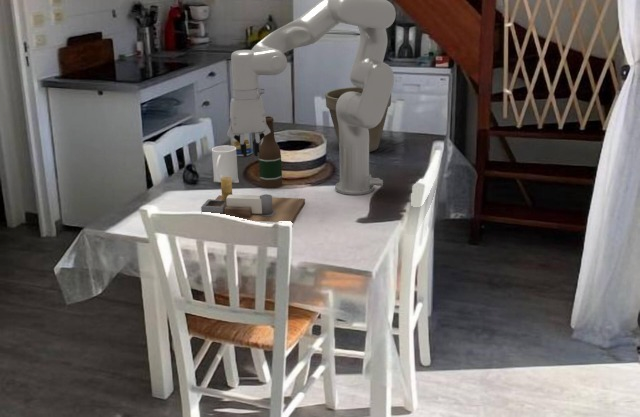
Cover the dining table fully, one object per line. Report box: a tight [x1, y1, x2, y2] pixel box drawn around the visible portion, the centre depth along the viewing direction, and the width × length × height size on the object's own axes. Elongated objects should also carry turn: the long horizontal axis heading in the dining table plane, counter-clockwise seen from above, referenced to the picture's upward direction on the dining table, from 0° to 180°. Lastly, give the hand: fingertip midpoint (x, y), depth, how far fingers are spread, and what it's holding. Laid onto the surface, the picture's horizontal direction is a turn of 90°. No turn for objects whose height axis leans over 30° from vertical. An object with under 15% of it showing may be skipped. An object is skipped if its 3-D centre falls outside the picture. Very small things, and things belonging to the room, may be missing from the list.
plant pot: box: [324, 86, 392, 153], centre depth 283 cm, size 25×25×22 cm
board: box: [214, 194, 306, 224], centre depth 223 cm, size 28×20×4 cm
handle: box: [226, 194, 273, 214], centre depth 218 cm, size 13×4×5 cm, turn 81°
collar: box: [200, 199, 227, 214], centre depth 221 cm, size 7×7×2 cm
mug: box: [211, 144, 240, 184], centre depth 247 cm, size 12×8×12 cm
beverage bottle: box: [228, 101, 254, 157], centre depth 280 cm, size 8×8×20 cm
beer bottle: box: [258, 115, 283, 190], centre depth 239 cm, size 8×8×24 cm
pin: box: [220, 177, 233, 200], centre depth 226 cm, size 3×3×8 cm
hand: (250, 155), depth 220 cm, fingers open, 2 cm apart
